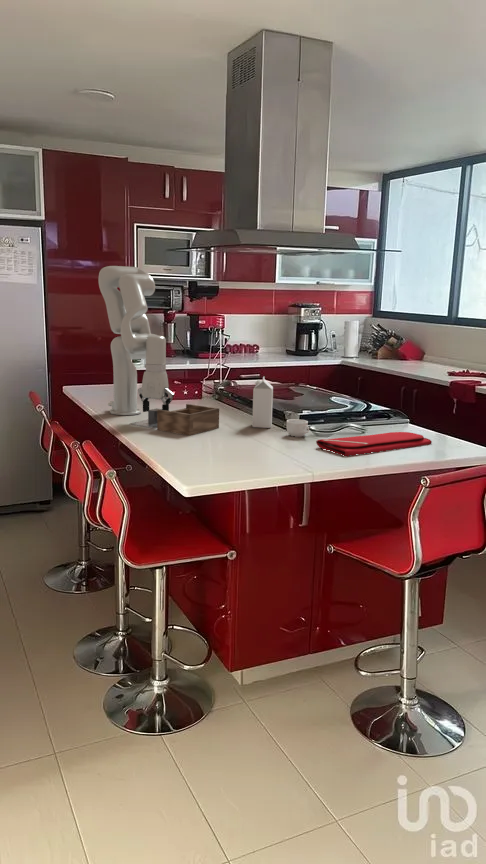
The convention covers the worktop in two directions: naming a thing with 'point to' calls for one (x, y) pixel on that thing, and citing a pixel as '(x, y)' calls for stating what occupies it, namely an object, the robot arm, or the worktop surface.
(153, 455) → the worktop surface
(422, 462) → the worktop surface
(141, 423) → the cover plate
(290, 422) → the teacup
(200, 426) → the walnut box
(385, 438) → the dish drying mat
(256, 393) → the milk carton
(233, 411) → the worktop surface
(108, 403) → the robot arm
